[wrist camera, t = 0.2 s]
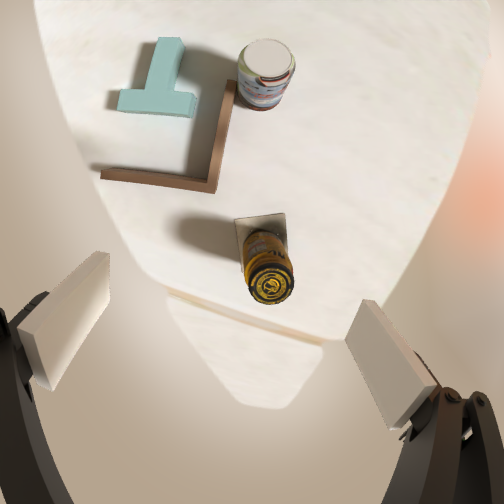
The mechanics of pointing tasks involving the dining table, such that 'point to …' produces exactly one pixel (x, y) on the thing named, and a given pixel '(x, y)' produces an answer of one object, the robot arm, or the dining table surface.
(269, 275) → the condiment
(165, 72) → the t block
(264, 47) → the beverage can
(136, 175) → the corner fence
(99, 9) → the dining table surface
